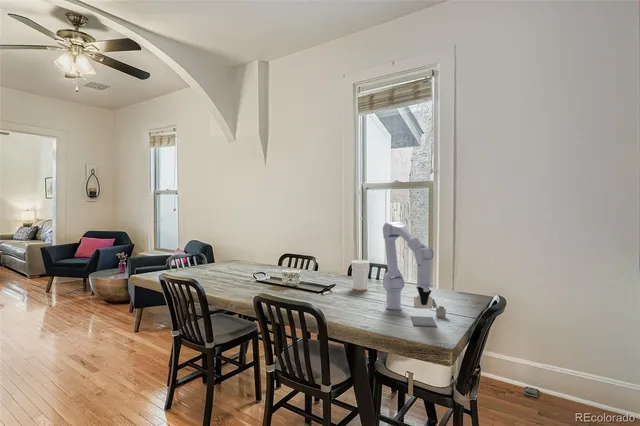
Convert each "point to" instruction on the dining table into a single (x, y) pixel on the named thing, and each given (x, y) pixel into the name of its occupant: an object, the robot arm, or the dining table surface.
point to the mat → (423, 321)
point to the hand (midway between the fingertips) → (423, 303)
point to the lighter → (439, 310)
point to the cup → (360, 274)
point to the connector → (418, 304)
